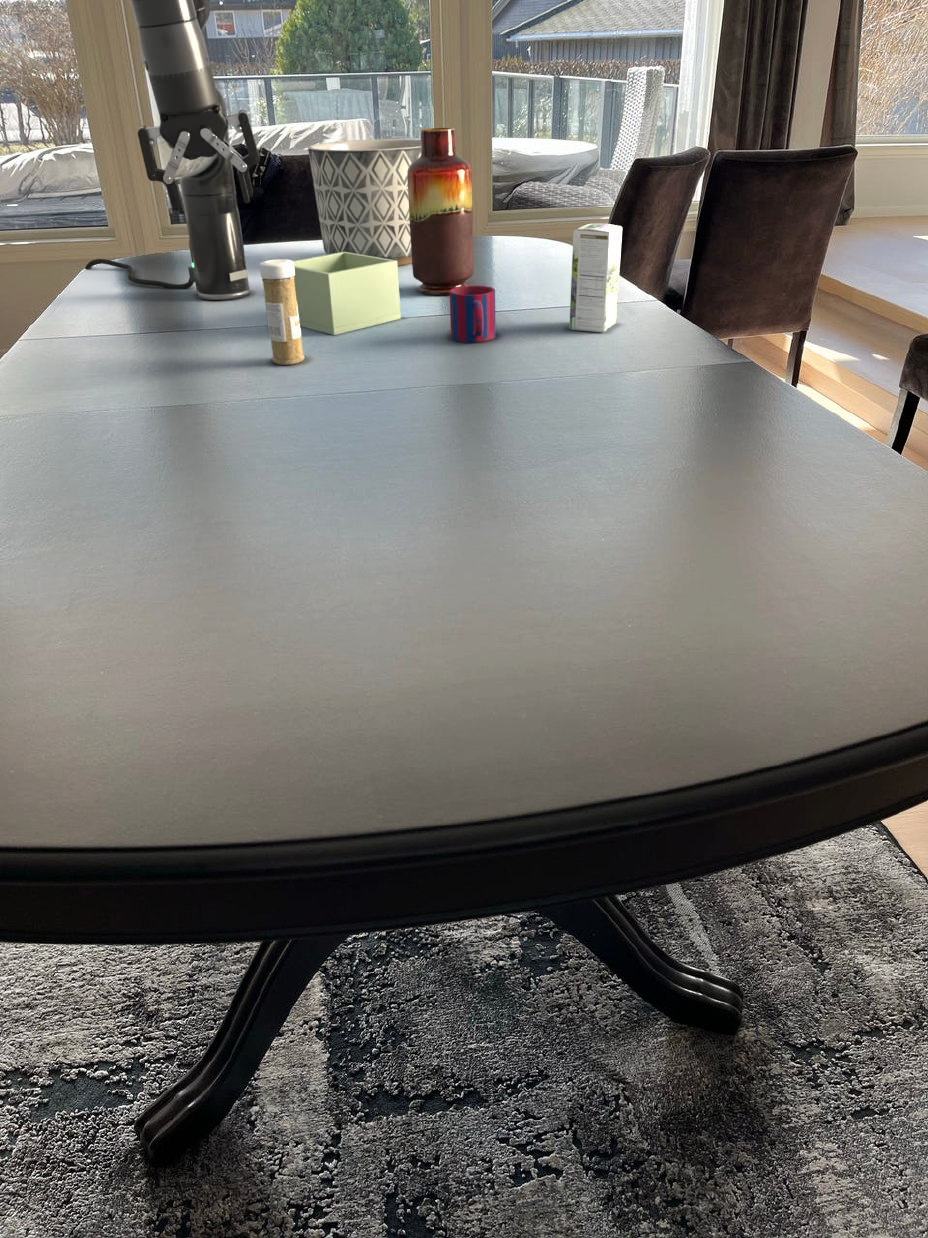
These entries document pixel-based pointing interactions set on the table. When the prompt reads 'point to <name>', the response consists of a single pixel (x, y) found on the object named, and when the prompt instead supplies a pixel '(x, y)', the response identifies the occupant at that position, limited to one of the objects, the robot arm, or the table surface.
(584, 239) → the syrup box
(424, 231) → the vase
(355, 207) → the planter
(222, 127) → the robot arm
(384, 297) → the open storage bin
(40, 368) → the table surface
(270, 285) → the sprinkles bottle
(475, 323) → the mug
